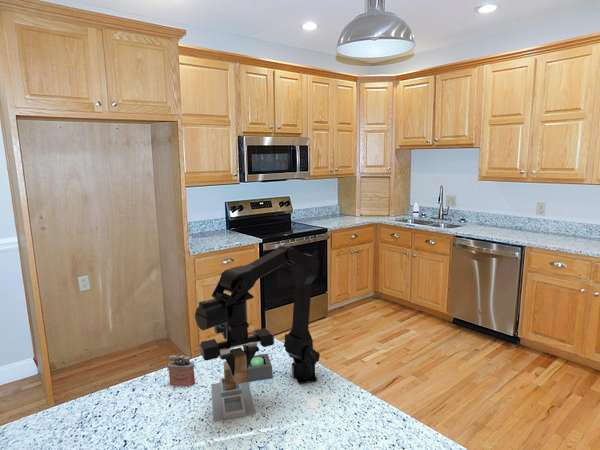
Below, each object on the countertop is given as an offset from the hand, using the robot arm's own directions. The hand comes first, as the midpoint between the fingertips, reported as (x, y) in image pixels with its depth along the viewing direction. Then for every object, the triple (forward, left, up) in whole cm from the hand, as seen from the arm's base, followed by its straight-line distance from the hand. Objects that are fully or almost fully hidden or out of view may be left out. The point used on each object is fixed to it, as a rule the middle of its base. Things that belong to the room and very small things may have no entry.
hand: (238, 373), depth 105 cm
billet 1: (+2, -11, -11) cm, 15 cm away
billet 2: (0, 0, -2) cm, 2 cm away
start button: (-7, -17, -10) cm, 21 cm away
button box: (-7, -17, -12) cm, 22 cm away
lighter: (+16, -18, -12) cm, 27 cm away
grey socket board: (+2, -6, -12) cm, 13 cm away
